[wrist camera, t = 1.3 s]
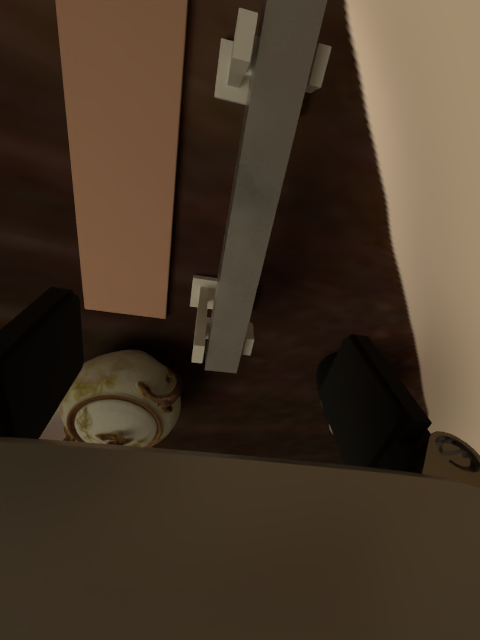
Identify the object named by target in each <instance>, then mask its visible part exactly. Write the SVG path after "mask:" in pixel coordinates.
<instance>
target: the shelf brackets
mask: <svg viewBox="0 0 480 640" xmlns="http://www.w3.org/2000/svg"><path fill="white" fill-rule="evenodd" d="M257 16H258V13H256V12H253V11H249V10H246V9H242V8H239V12H238V18H237V24H236V30H235V36H234V41H230V40H226V39H223V38H221V45H220V53H219V62H218V70H217V79H216V87H215V96H214V98H217V99H221V100H226V101H230V102H234V103H238V104H242V105H246V101H247V95H248V89H249V83H250V76H251V70H252V64H253V58H254V52H255V46H256V40H257V36H256V35H255V29H256V23H257ZM331 48H332V47H331V46H328V45H324V44H321V43H319V44H318V45H317V46H316V49H315V53H314V57H313V61H312V65H311V69H310V73H309V78H308V82H307V86H306V90H305V92H307V93H312V92H314V90H317V89H319V88H321V85H322V82H323V78H324V74H325V70H326V66H327V63H328V59H329V55H330V51H331ZM217 279H218V278H213V277H206V276H200V275H194V276H193V284H192V293H191V301H190V306H192V307H198V310H197V319H196V327H195V336H194V344H193V353H192V361H191V362H194V363H202V361H203V355H204V348H205V339H208V334H209V328H210V321H211V318H208V317H207V309H213V303H214V297H215V291H216V285H217ZM253 343H254V335H253V324H252V323H249V324H248V328H247V332H246V336H245V340H244V345H243V349H242V355H250V354H251V350H252V347H253Z"/></svg>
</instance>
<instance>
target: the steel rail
mask: <svg viewBox="0 0 480 640" xmlns="http://www.w3.org/2000/svg"><path fill="white" fill-rule="evenodd" d="M326 4H327V0H263V3H262V9H261V15H260V21H259V27H258V34H257V40H256V46H255V52H254V58H253V64H252V70H251V76H250V83H249V89H248V95H247V101H246V107H245V113H244V119H243V125H242V132H241V138H240V144H239V150H238V156H237V162H236V168H235V174H234V181H233V187H232V193H231V199H230V205H229V211H228V217H227V223H226V230H225V236H224V242H223V248H222V254H221V260H220V266H219V272H218V279H217V285H216V291H215V297H214V303H213V309H212V315H211V321H210V328H209V334H208V340H207V346H206V356H205V370H209V371H219V372H229V373H237V369H238V365H239V361H240V357H241V353H242V349H243V345H244V340H245V336H246V332H247V328H248V324H249V320H250V316H251V312H252V308H253V303H254V299H255V295H256V291H257V287H258V283H259V279H260V275H261V271H262V266H263V262H264V258H265V254H266V250H267V246H268V242H269V238H270V234H271V230H272V225H273V221H274V217H275V213H276V209H277V205H278V201H279V197H280V193H281V188H282V184H283V180H284V176H285V172H286V168H287V164H288V160H289V156H290V151H291V147H292V143H293V139H294V135H295V131H296V127H297V123H298V119H299V115H300V110H301V106H302V102H303V98H304V94H305V90H306V86H307V82H308V78H309V73H310V69H311V65H312V61H313V57H314V53H315V49H316V45H317V41H318V36H319V32H320V28H321V24H322V20H323V16H324V12H325V8H326Z"/></svg>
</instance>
